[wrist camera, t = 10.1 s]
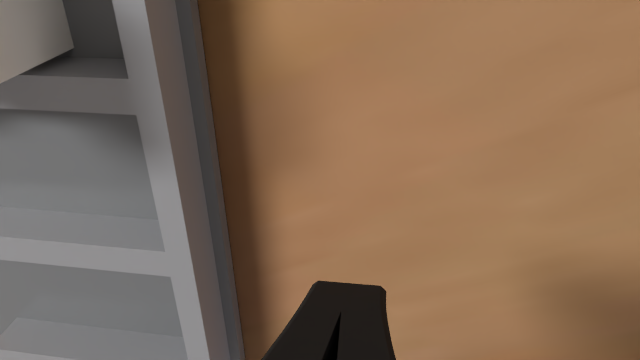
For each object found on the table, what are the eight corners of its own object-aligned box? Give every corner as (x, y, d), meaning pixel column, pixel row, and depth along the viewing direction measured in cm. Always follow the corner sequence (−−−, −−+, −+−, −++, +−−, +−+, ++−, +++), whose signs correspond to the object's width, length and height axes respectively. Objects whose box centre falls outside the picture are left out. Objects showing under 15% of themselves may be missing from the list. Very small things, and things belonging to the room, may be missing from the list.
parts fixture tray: (245, 364, 26) (223, 425, 23) (11, 334, 28) (-37, 387, 25) (168, -213, 14) (104, -236, 12) (-219, -191, 17) (-355, -206, 14)
